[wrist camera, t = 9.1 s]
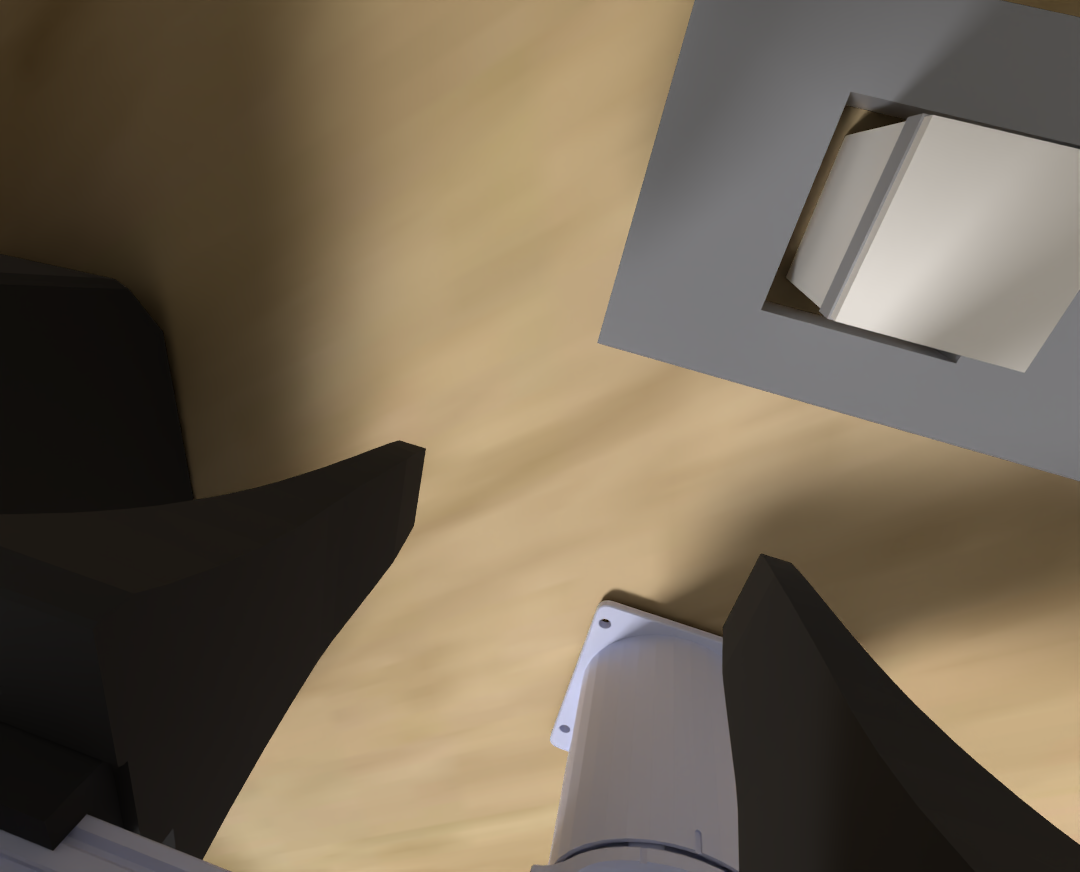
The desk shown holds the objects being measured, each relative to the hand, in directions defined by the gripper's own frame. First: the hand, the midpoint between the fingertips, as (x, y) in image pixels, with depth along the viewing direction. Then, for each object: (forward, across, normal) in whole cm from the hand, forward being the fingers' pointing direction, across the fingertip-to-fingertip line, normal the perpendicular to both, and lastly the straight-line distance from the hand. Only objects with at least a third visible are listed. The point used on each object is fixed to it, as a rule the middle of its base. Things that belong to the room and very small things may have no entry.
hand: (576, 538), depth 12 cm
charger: (+10, -6, -7) cm, 13 cm away
